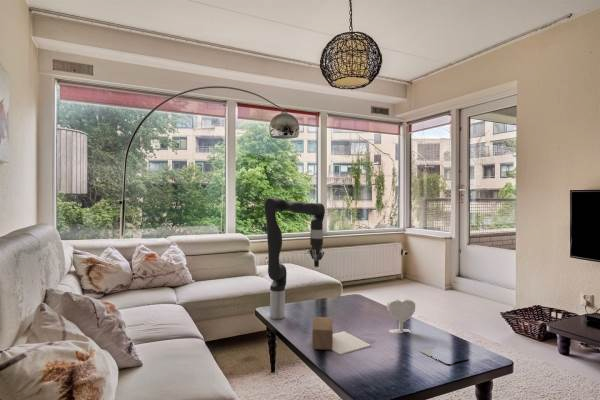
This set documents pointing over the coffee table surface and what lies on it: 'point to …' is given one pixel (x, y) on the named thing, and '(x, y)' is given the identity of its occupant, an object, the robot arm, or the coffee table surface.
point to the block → (322, 333)
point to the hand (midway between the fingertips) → (316, 266)
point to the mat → (347, 343)
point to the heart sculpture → (401, 312)
